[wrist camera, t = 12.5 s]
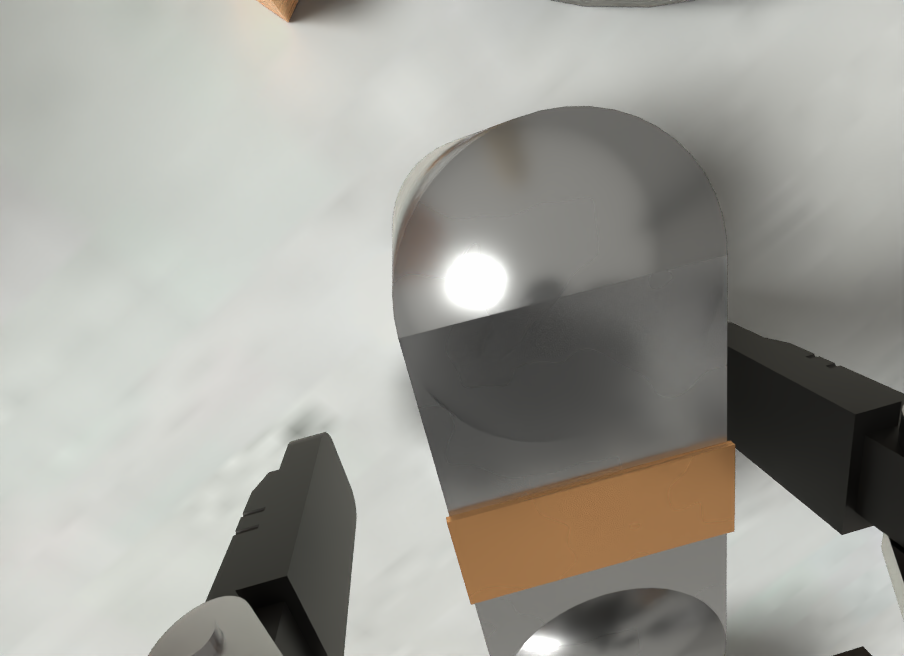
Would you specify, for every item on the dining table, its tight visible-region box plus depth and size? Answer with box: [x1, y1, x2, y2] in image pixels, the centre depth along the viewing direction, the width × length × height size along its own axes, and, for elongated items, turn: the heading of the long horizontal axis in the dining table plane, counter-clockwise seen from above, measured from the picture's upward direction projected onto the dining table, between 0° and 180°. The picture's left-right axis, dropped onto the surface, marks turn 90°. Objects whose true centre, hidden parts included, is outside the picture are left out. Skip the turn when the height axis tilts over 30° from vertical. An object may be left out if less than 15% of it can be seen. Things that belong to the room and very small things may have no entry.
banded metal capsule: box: [392, 106, 735, 656], centre depth 9 cm, size 4×11×6 cm, turn 13°
